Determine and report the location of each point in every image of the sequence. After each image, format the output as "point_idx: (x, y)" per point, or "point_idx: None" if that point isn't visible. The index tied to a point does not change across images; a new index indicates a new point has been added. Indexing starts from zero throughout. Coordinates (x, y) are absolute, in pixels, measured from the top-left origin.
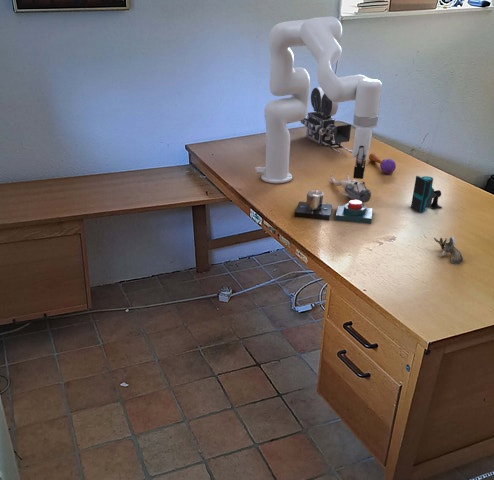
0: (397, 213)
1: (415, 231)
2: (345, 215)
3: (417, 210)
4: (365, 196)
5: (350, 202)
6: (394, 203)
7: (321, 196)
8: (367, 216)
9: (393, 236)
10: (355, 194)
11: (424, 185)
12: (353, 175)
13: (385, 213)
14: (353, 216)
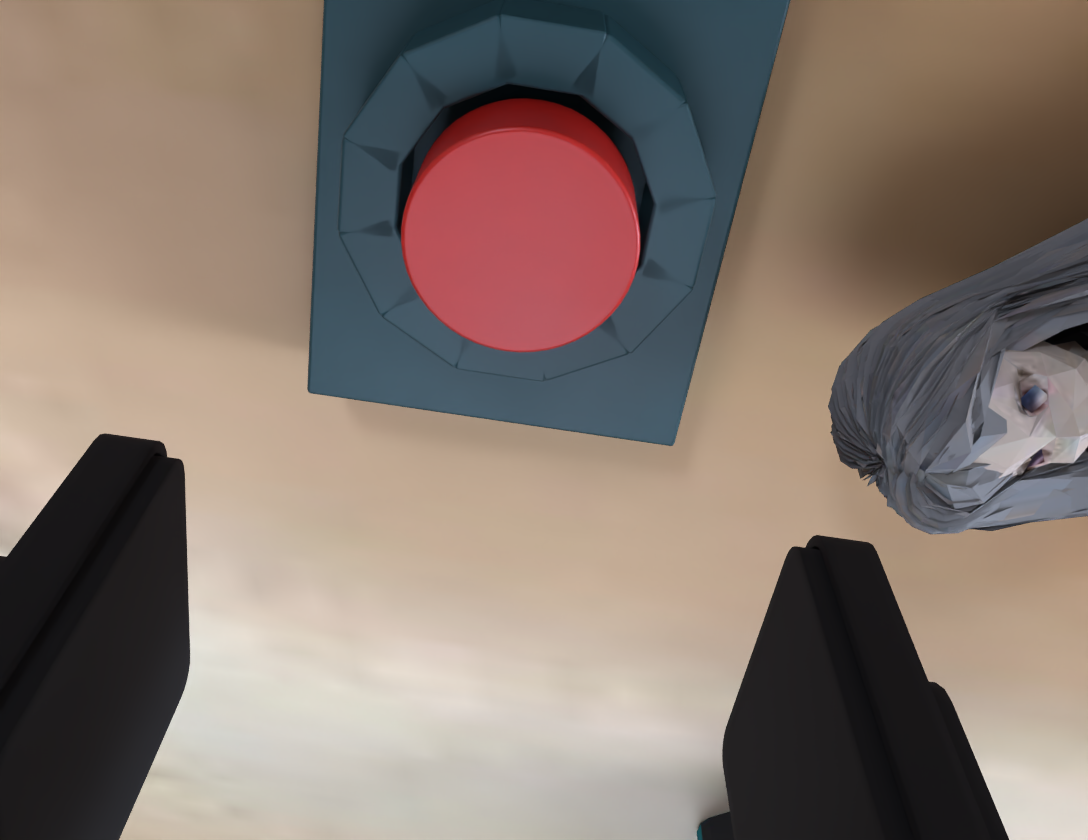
0: (683, 656)
1: (231, 730)
2: (354, 20)
3: (730, 823)
4: (855, 426)
5: (486, 151)
6: (983, 668)
7: None
8: (373, 351)
9: None
10: (1049, 274)
11: None
12: (67, 477)
13: (681, 548)
14: (335, 152)
